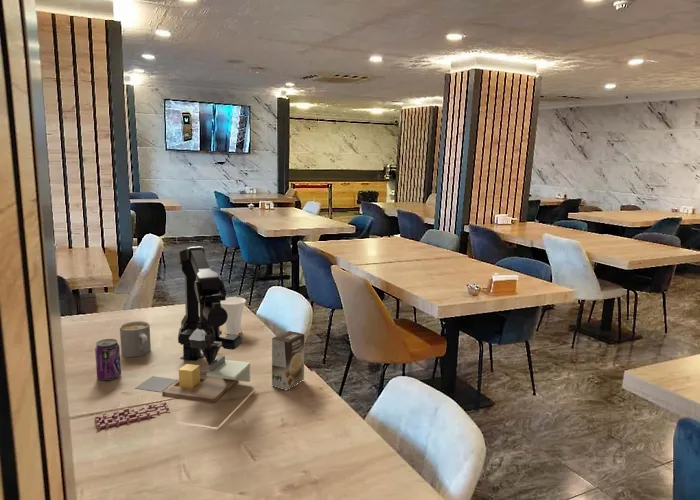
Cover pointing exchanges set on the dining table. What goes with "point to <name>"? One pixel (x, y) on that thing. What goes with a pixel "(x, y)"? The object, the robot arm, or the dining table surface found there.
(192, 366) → the block
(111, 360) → the beverage can
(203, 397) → the board
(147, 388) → the coaster
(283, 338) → the food box
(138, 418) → the chocolate bar
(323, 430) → the dining table surface
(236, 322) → the cup
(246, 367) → the lid
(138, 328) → the coffee mug
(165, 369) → the dining table surface
